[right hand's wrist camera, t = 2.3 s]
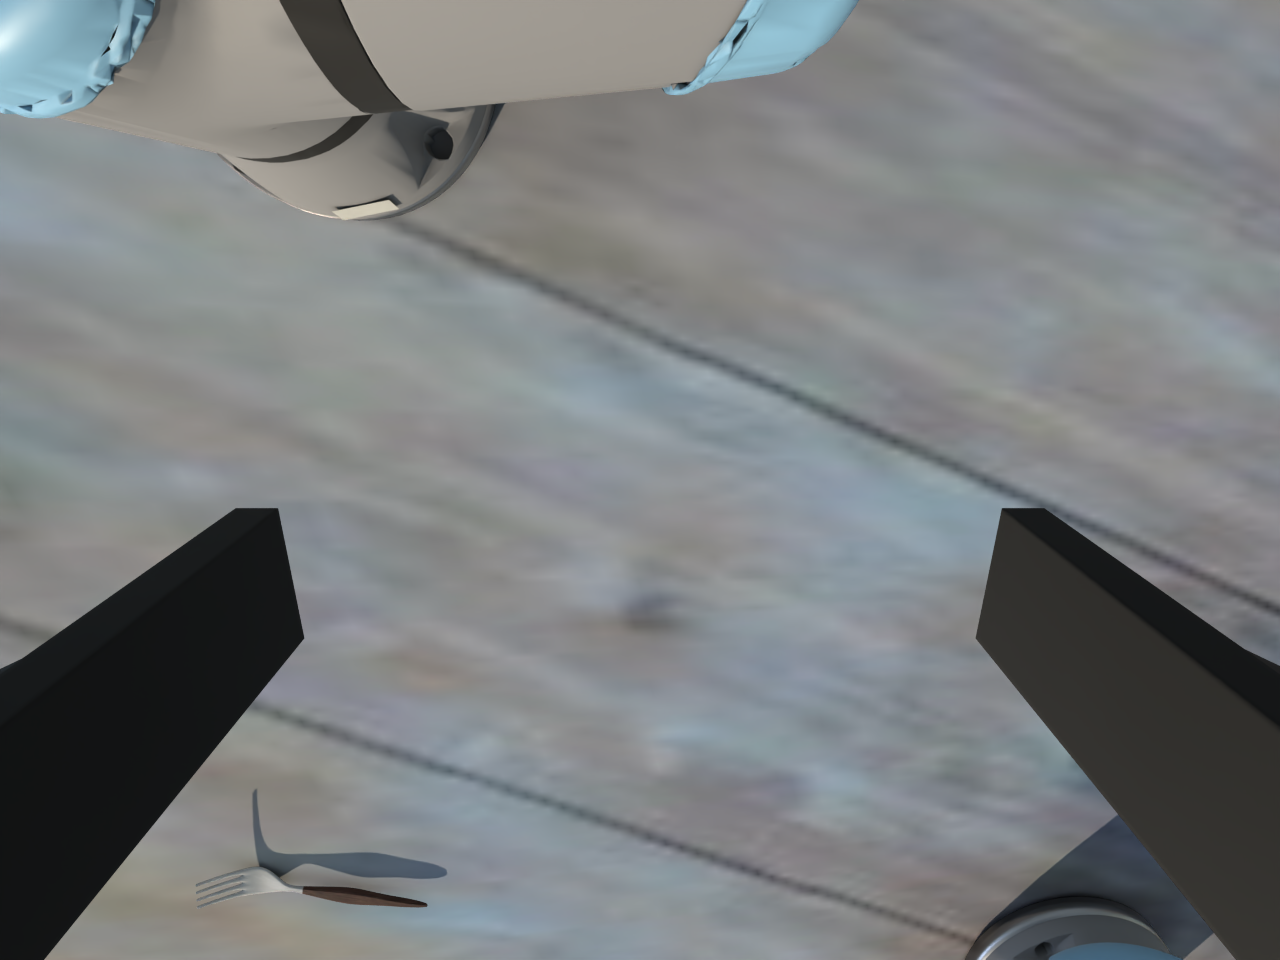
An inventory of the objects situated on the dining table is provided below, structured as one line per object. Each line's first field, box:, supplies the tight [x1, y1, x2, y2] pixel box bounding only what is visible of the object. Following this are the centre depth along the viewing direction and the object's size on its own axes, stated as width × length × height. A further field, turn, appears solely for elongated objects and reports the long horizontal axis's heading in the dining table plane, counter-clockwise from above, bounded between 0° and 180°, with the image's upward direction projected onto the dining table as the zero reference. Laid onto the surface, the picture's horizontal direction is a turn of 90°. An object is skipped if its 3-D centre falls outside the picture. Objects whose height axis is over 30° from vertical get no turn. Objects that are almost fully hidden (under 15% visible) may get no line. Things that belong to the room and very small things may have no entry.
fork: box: [196, 867, 427, 909], centre depth 50 cm, size 3×16×2 cm, turn 81°
